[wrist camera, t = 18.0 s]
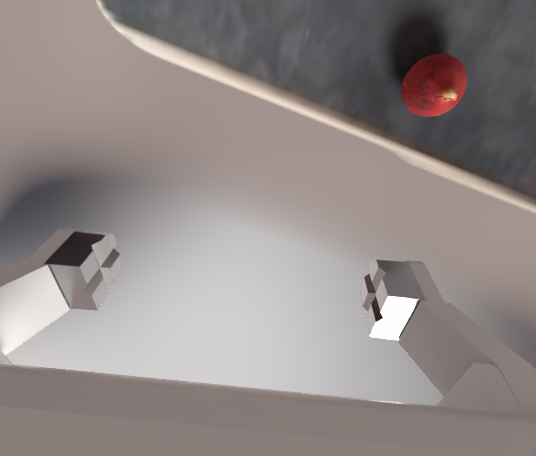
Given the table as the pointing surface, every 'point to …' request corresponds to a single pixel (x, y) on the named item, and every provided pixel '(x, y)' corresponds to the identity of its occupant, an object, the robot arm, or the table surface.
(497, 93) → the table surface
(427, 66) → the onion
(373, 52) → the table surface
